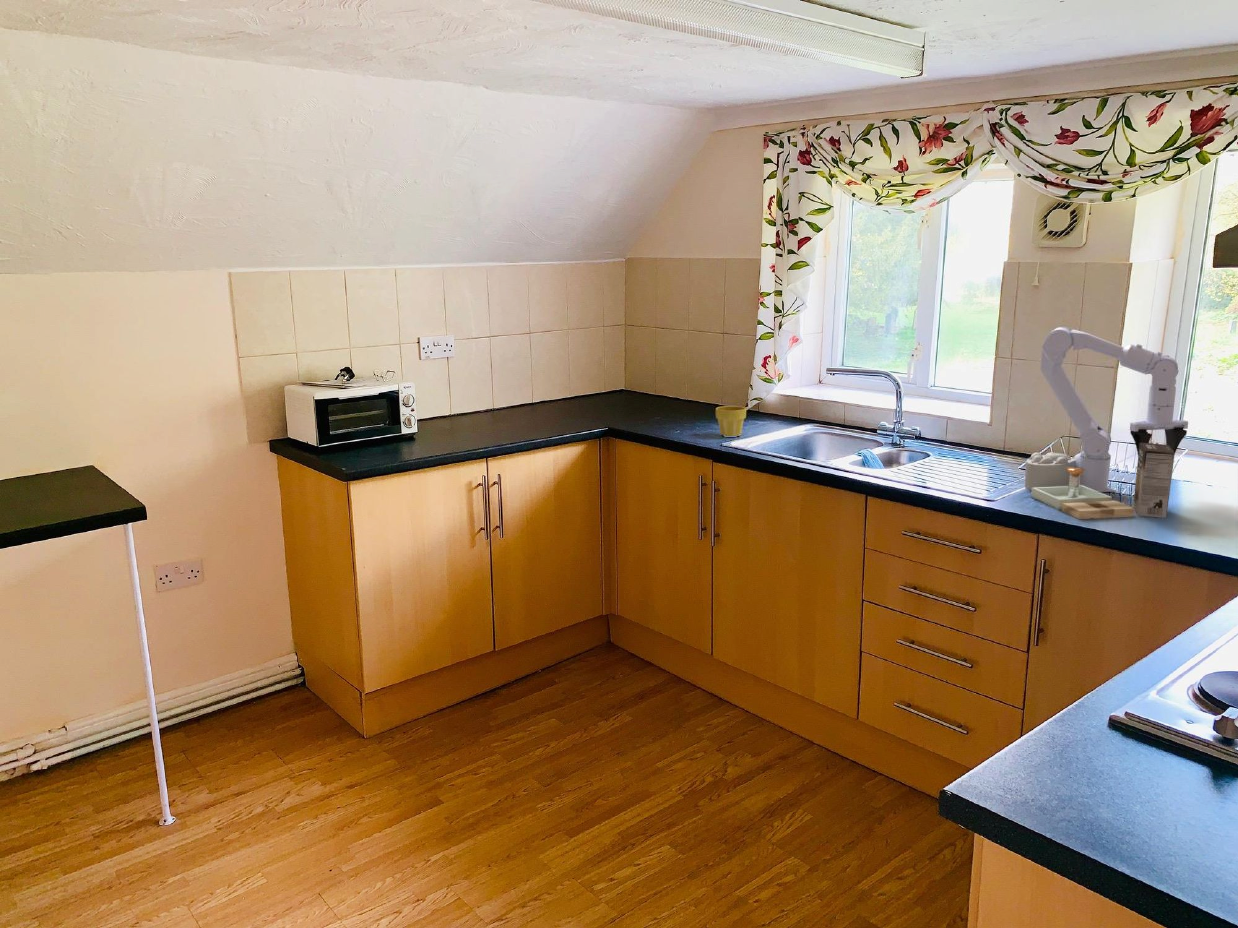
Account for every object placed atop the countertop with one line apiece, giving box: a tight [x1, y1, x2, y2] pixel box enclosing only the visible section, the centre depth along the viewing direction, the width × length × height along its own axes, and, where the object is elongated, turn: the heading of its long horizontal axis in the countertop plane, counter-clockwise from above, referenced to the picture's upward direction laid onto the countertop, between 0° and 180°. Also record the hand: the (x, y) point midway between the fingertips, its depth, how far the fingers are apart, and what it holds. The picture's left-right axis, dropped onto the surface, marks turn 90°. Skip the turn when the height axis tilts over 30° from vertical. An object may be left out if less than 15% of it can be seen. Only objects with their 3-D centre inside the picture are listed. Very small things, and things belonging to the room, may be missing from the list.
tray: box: [1030, 485, 1113, 510], centre depth 237 cm, size 12×14×2 cm
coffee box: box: [1132, 442, 1176, 519], centre depth 226 cm, size 9×6×16 cm
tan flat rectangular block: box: [1061, 500, 1136, 520], centre depth 227 cm, size 7×14×2 cm, turn 98°
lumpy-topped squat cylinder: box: [1024, 451, 1076, 491], centre depth 251 cm, size 10×13×9 cm
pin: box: [1067, 467, 1085, 498], centre depth 236 cm, size 4×4×8 cm
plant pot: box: [715, 405, 747, 436], centre depth 323 cm, size 10×10×10 cm
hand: (1155, 457), depth 241 cm, fingers open, 7 cm apart
